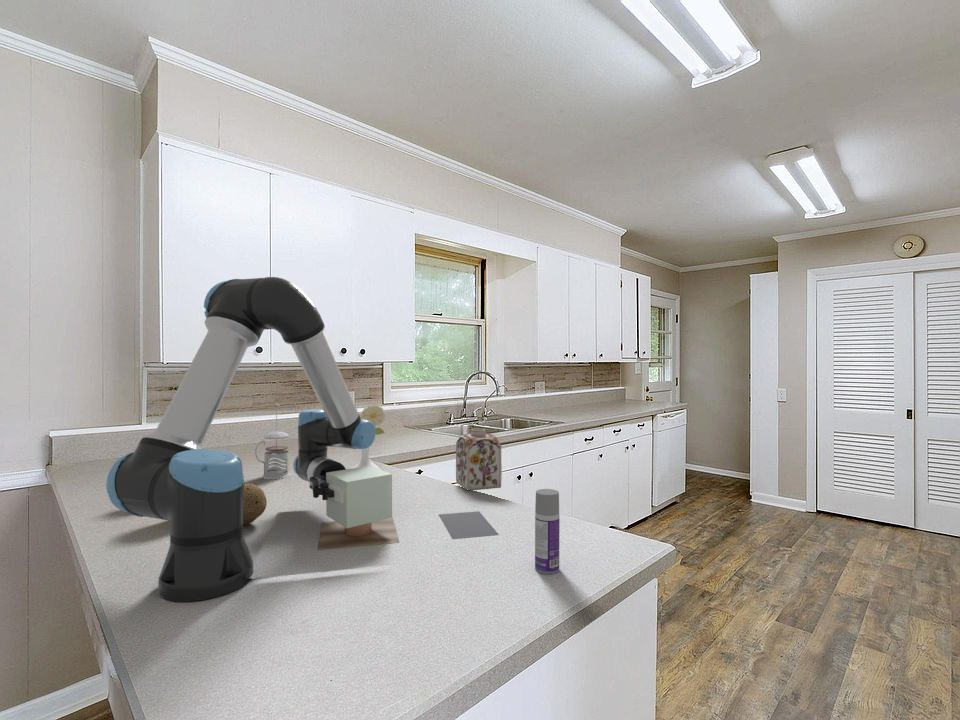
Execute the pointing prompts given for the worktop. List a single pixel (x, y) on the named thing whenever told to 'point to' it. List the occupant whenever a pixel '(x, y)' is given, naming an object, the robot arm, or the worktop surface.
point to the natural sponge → (252, 503)
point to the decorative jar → (478, 461)
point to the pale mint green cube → (360, 496)
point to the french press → (275, 456)
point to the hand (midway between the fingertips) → (367, 492)
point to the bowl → (359, 530)
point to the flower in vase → (376, 417)
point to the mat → (467, 525)
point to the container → (547, 531)
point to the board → (336, 537)
